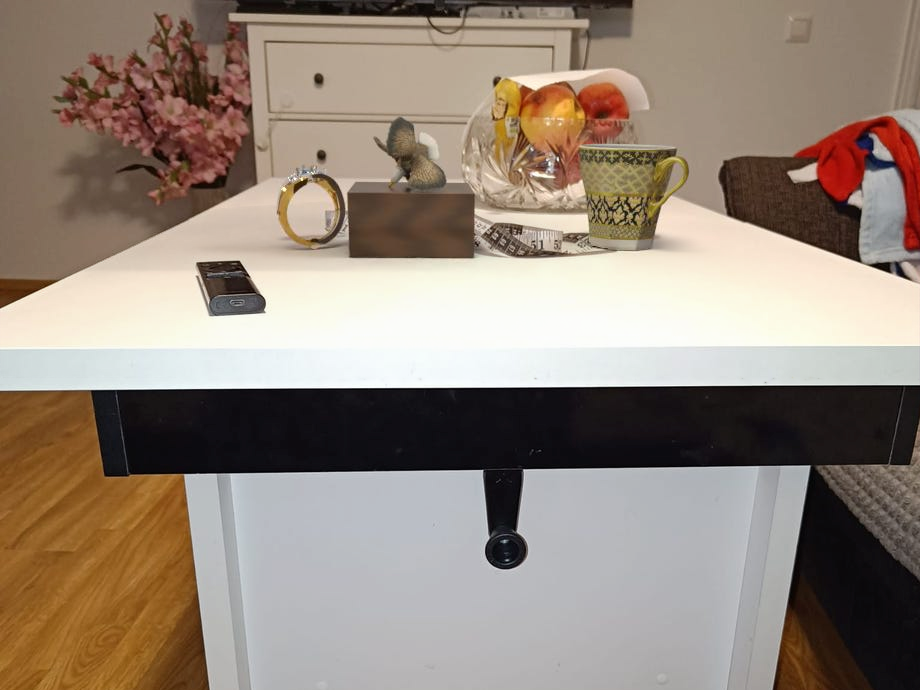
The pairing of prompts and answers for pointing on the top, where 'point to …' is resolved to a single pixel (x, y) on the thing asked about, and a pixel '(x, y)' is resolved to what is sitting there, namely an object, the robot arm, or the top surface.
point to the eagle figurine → (413, 157)
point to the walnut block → (411, 221)
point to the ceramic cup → (626, 191)
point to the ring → (292, 187)
